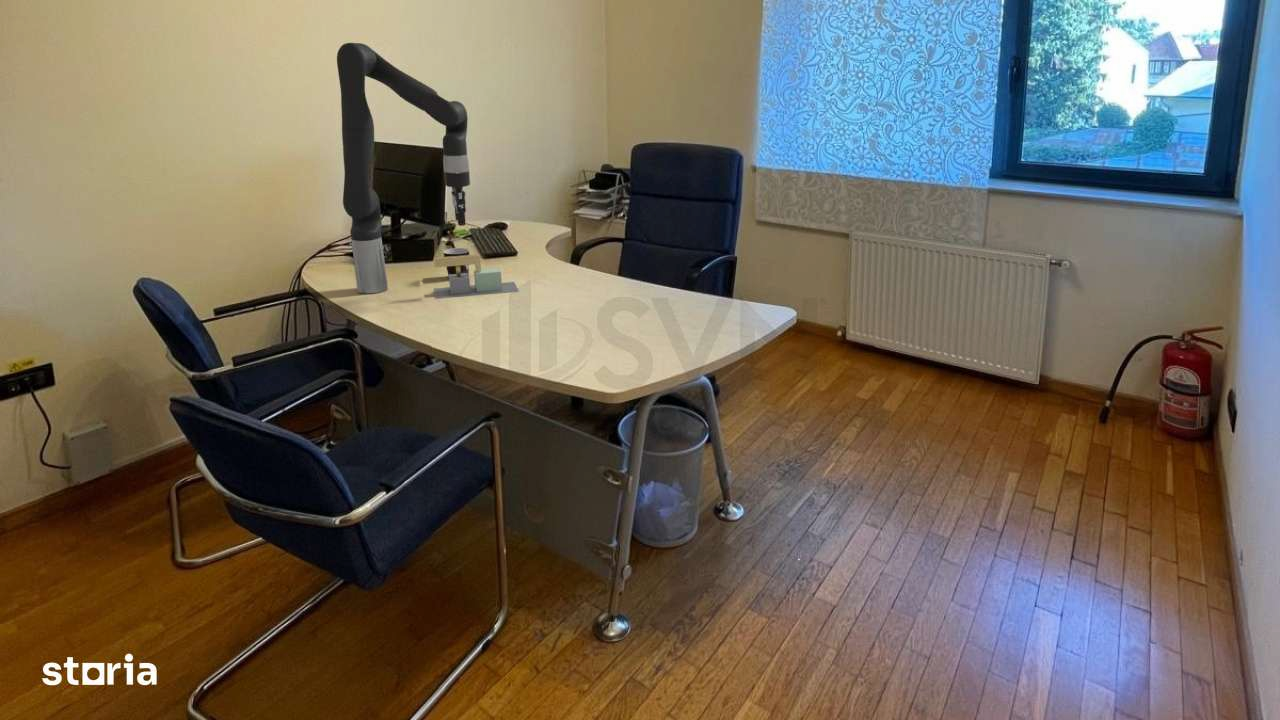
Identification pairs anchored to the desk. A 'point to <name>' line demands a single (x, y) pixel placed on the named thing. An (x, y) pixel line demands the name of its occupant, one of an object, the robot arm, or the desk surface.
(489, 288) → the mint green block
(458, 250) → the coffee mug
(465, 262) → the t key
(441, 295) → the base board
